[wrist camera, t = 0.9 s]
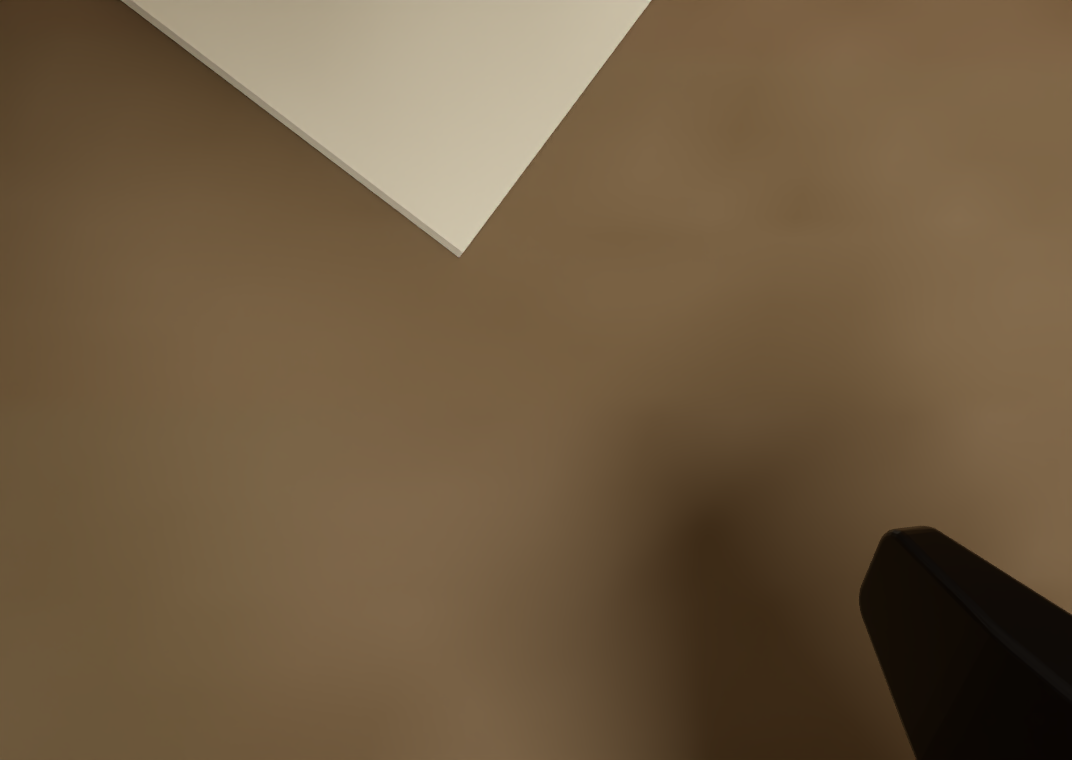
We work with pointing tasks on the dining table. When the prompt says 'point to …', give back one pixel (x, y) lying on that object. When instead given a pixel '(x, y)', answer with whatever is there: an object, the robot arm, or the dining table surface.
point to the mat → (410, 85)
